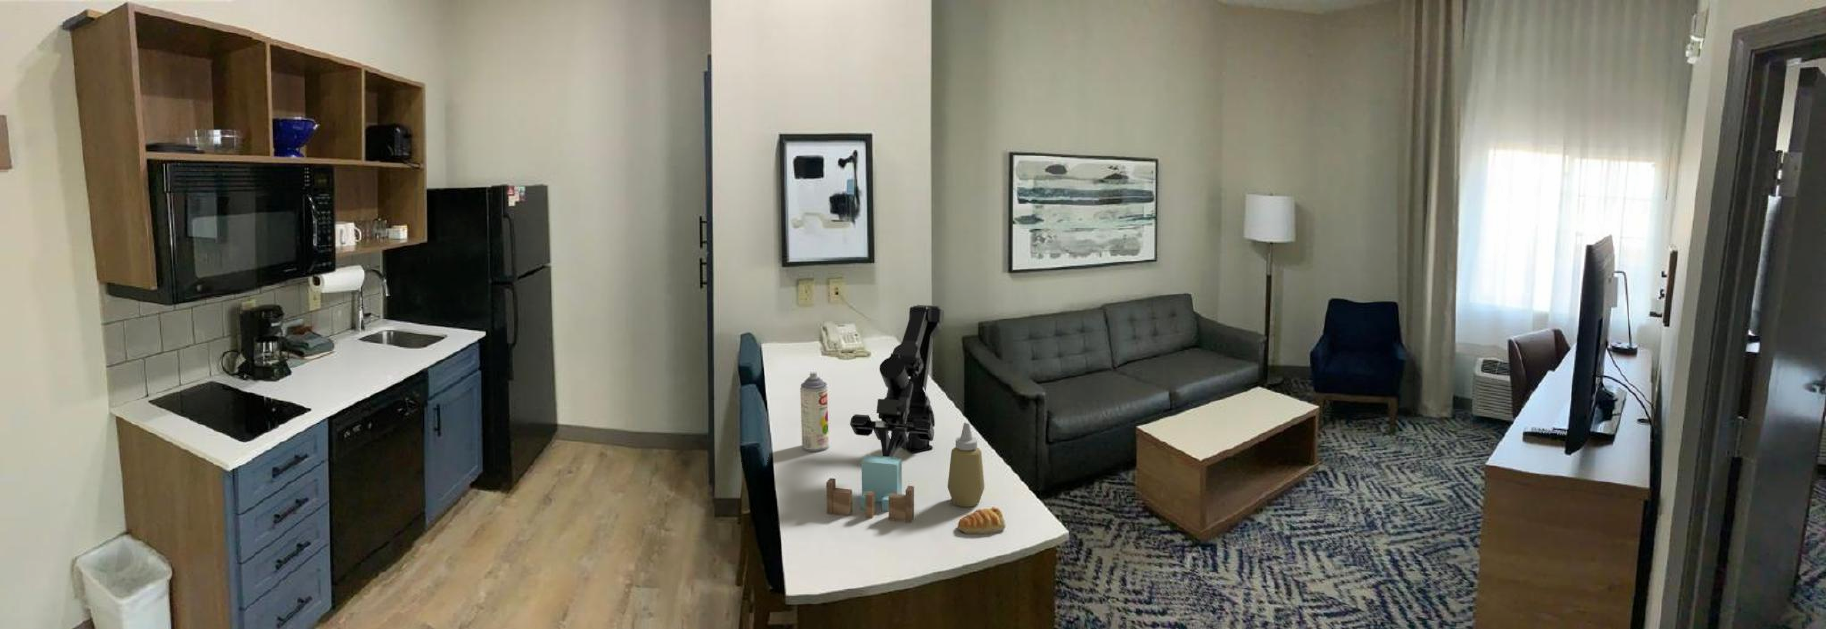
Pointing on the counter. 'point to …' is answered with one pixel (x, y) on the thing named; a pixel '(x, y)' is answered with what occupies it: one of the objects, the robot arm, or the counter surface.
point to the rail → (870, 502)
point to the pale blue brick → (881, 478)
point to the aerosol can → (814, 414)
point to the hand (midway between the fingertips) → (885, 461)
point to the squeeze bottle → (966, 470)
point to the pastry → (982, 522)
